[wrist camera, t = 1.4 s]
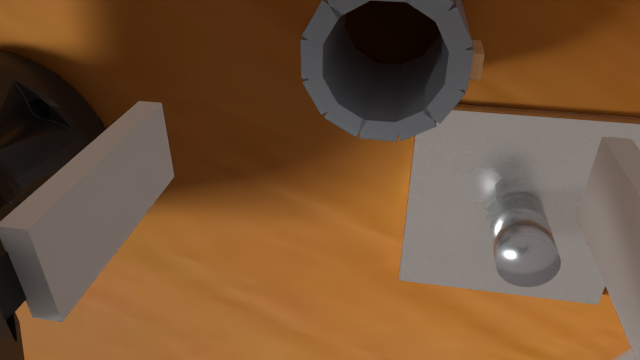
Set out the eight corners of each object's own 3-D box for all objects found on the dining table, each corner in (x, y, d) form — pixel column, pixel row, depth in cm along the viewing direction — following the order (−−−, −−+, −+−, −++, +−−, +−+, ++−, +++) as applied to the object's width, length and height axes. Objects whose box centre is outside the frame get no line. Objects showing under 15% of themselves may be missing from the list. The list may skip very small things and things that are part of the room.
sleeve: (327, 75, 32) (301, 133, 26) (329, -56, 28) (299, -28, 22) (460, 84, 31) (469, 147, 24) (481, -52, 27) (500, -20, 20)
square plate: (399, 271, 40) (395, 331, 35) (419, 101, 32) (417, 146, 27) (594, 294, 38) (619, 362, 33) (663, 118, 30) (710, 172, 25)
